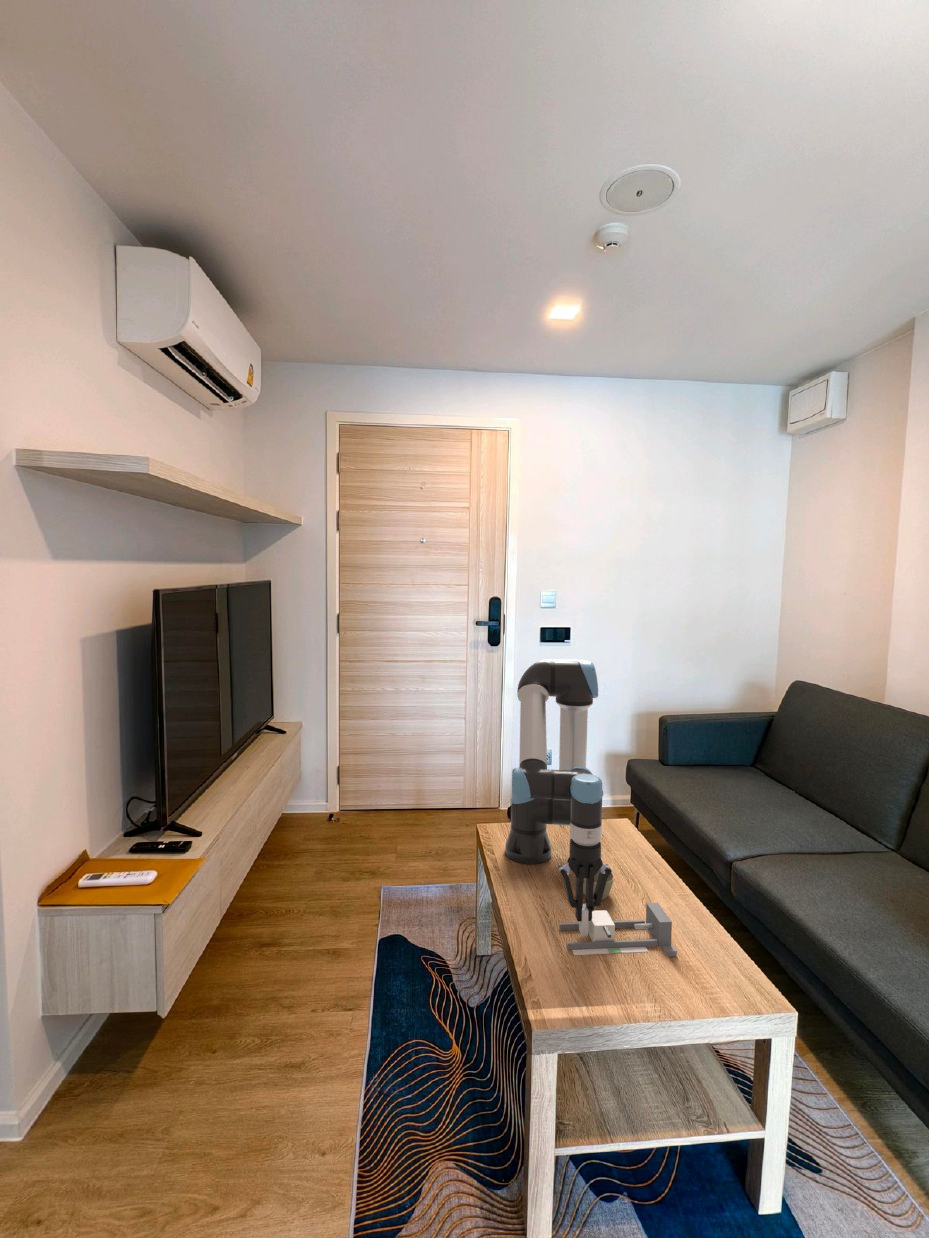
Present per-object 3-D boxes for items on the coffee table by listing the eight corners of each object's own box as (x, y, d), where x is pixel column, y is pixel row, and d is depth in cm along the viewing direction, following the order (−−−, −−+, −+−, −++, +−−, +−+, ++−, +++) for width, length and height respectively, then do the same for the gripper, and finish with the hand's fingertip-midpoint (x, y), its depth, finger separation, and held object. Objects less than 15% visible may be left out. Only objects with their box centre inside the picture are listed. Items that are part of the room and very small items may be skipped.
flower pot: (614, 910, 149) (615, 885, 148) (577, 905, 151) (577, 880, 150) (612, 890, 158) (612, 866, 158) (577, 886, 160) (577, 862, 160)
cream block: (586, 929, 138) (587, 910, 138) (606, 929, 138) (606, 910, 138) (598, 955, 129) (599, 934, 128) (619, 954, 129) (620, 934, 129)
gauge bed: (549, 928, 140) (550, 901, 140) (655, 924, 143) (656, 898, 142) (561, 960, 129) (561, 931, 128) (676, 955, 131) (677, 926, 130)
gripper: (563, 847, 129) (561, 943, 131) (616, 846, 130) (614, 941, 132) (555, 833, 137) (553, 923, 138) (606, 832, 138) (604, 922, 139)
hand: (583, 932), depth 135 cm, fingers closed
